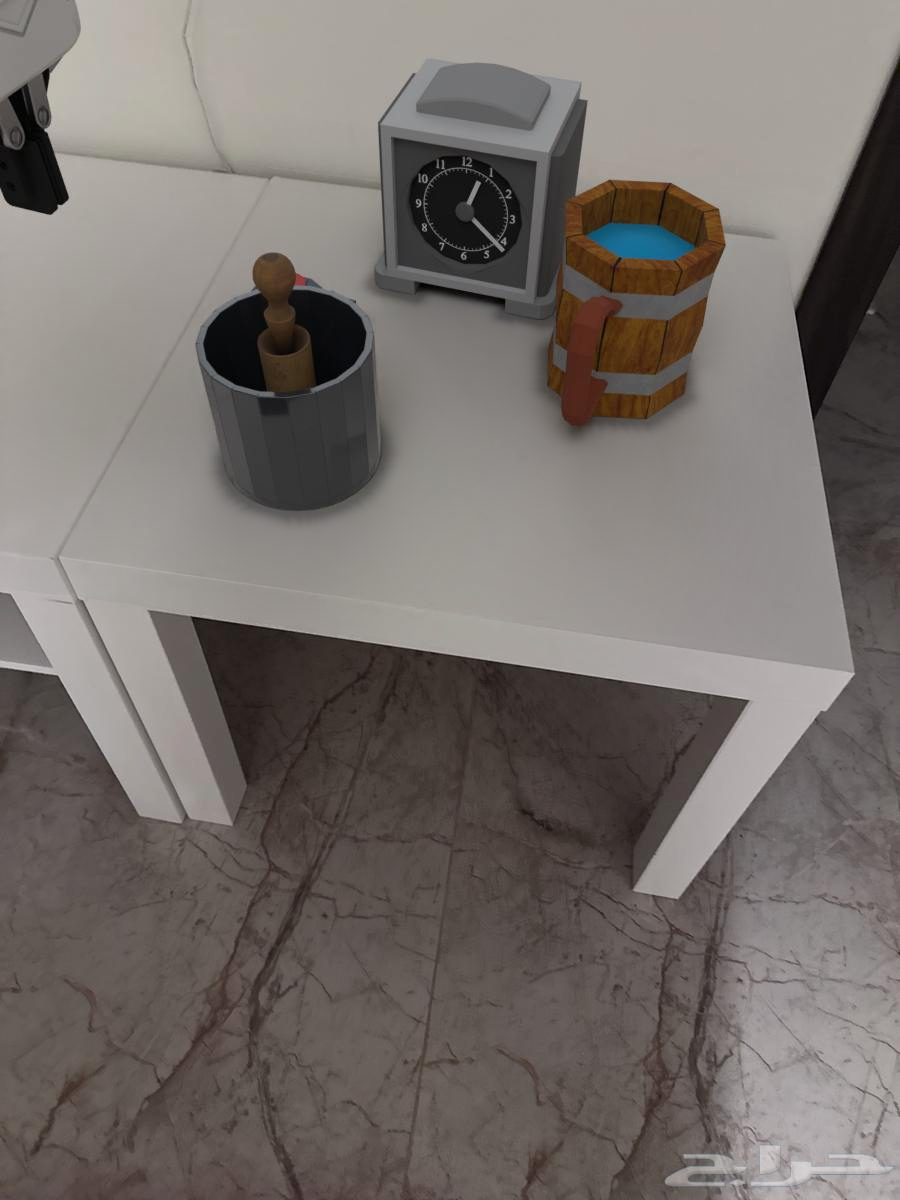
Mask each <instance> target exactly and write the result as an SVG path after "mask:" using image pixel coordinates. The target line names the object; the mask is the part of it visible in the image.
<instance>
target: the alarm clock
mask: <svg viewBox="0 0 900 1200" xmlns="http://www.w3.org/2000/svg"><path fill="white" fill-rule="evenodd" d="M581 90H582V81H579V80H578V81H577V80H571V79H565V78H558V77H553V76H552V77H551V76H546V75H539V74H532V73H528V72H526V71H525V72H524V71H523V70H519V69H518V68H515V67H510V66H506V65H502V64H497V63H489V62H487V63H486V62H464V63H461V62H454V61H447V60H442V59H435V58H429V57H428V58H426V59H425V60H424V61H423V63H422V64H421V66H420V68H419V69H418V70H417V72H413V73H411V75H410V77H408V79H407V81H406V82H405V84H404V85H403V86H402V88H401V89H400V91H399V92H398V94H397V95H396V96H395V98H394V99H393V100H392V102H391V104H390V105H389V106H388V108H387V109H386V110H385V112H384V113H383V115H382V116H381V117H380V119H379V120H378V122H377V132H378V133H377V134H378V153H379V175H380V176H379V177H380V192H381V193H380V194H381V195H380V196H381V213H382V234H383V252H382V253H381V255H380V257H379V258H378V260H377V261H376V263H375V265H374V280H375V283H376V286H377V287H379V288H380V289H383V290H390V291H394V292H397V293H398V292H399V293H404V294H409V295H415V294H416V292H417V290H418V289H419V287H420V285H421V283H423V284H427V285H433V286H439V287H443V288H448V289H454V290H460V291H464V292H469V293H473V294H478V295H484V296H489V297H494V298H500V299H504V300H505V303H504V313H505V314H510V315H514V316H515V315H516V316H519V317H526V318H531V319H535V320H544V319H548V318H549V317H551V316H552V315H553V313H554V311H555V309H556V281H557V277H558V272H559V268H560V263H561V259H562V255H563V247H564V239H565V231H566V201H567V200H569V199H571V198H573V197H575V196H577V195H576V194H577V187H578V179H579V171H580V165H581V164H580V162H581V156H582V148H583V147H582V146H583V140H584V134H585V133H584V132H585V126H586V117H587V109H588V102H589V100H588V99H582V98H581Z"/></svg>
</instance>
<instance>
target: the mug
mask: <svg viewBox="0 0 900 1200" xmlns="http://www.w3.org/2000/svg"><path fill="white" fill-rule="evenodd" d="M726 247H727V243H726V239H725V233H724V228H723V223H722V217H721V212H720V208H718V207H717V206H715V205H713V204H711V203H709V202H707V201H705V200H704V199H702V198H700V197H698V196H696V195H694V194H692V193H691V192H688V191H687V190H685V189H683V188H682V187H680V186H678V185H676V184H674V183H672V182H665V181H664V182H663V181H643V180H624V179H623V180H621V179H608V180H606V181H604V182H601V183H599V184H598V185H595V186H593V187H591V188H589V189H587V190H586V191H583V192H581V193H579V194H577V195H575V197H573V198H571V199H569V200H567V201H566V231H565V239H564V247H563V255H562V259H561V263H560V268H559V272H558V277H557V281H556V305H555V313H554V320H553V321H554V322H553V329H552V332H551V336H550V340H549V344H548V347H547V379H546V380H547V382H546V384H547V385H546V386H547V387H548V388H549V389H551V390H552V391H554V392H555V393H556V394H558V395H559V396H560V397H561V401H560V411H561V416H562V419H563V421H564V422H566V423H568V425H569V424H570V425H571V426H578V427H582V426H584V425H586V424H587V422H589V420H590V419H592V417H607V418H608V417H609V418H610V417H611V418H623V419H624V418H625V419H641V420H647V419H648V418H650V417H651V416H653V415H655V414H656V413H657V412H659V411H660V410H662V409H664V408H665V407H666V406H668V405H669V404H671V403H673V402H674V401H676V400H677V399H679V398H681V397H682V396H683V395H685V391H686V385H687V376H688V370H689V366H690V363H691V359H692V355H693V351H694V350H695V348H696V347H695V346H696V344H697V341H698V339H699V336H700V334H701V332H702V329H703V327H704V323H705V316H706V311H707V304H708V298H709V294H710V290H711V287H712V283H713V280H714V275H715V273H716V270H717V268H718V265H719V263H720V260H721V258H722V255H723V253H724V251H725V249H726Z"/></svg>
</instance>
